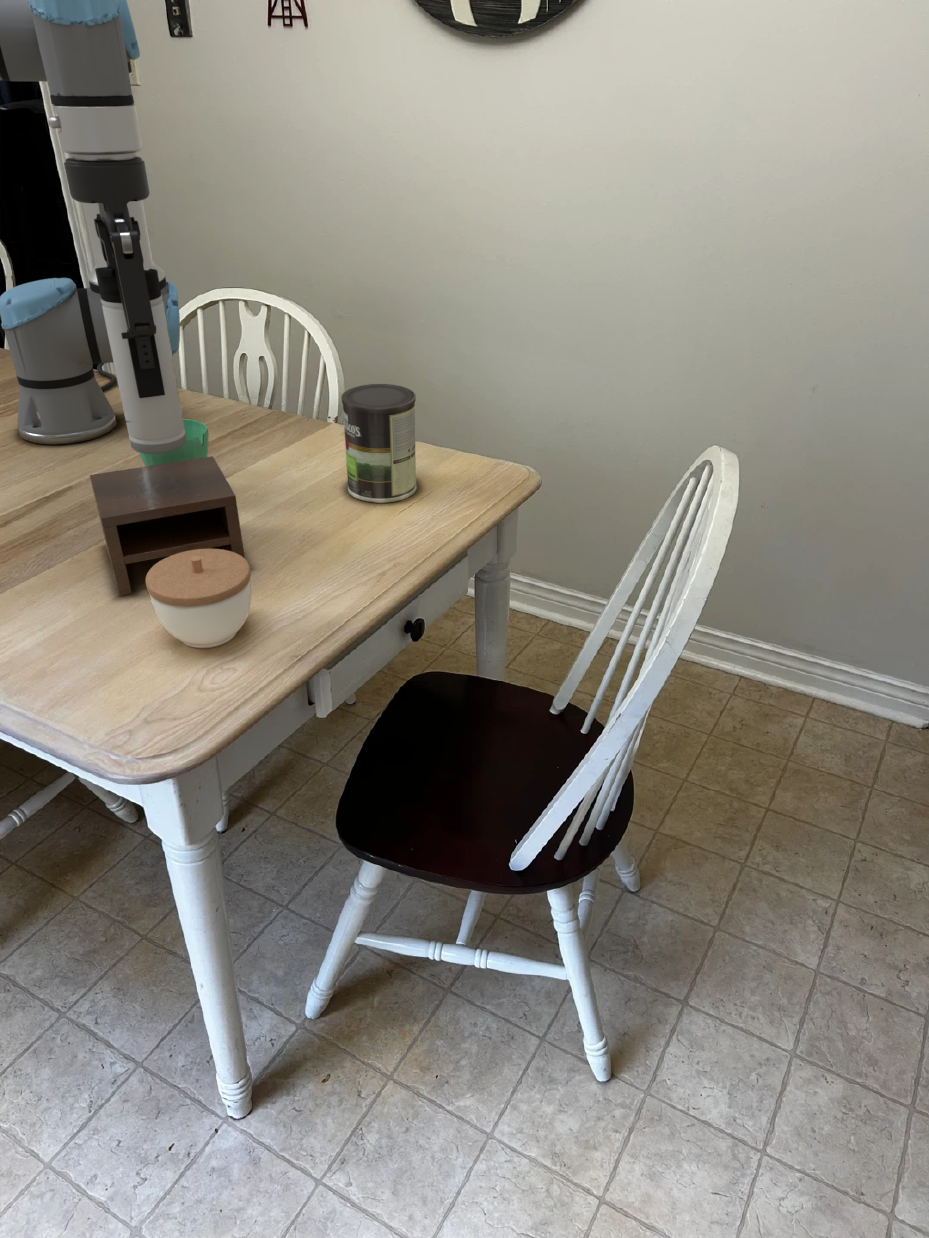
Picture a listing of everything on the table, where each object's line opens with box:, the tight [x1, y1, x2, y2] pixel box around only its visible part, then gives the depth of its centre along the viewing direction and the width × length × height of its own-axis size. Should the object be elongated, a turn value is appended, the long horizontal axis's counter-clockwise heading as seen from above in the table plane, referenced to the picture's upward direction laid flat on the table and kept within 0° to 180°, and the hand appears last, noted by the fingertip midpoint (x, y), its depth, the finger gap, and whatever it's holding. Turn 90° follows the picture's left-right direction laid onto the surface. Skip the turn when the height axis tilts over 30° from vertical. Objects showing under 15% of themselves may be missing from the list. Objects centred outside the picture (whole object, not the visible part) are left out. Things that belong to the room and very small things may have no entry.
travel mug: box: [95, 267, 186, 454], centre depth 96 cm, size 6×7×20 cm
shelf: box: [89, 455, 246, 597], centre depth 107 cm, size 13×15×10 cm
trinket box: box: [144, 548, 253, 649], centre depth 94 cm, size 11×11×9 cm
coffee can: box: [341, 383, 418, 504], centre depth 125 cm, size 10×10×14 cm
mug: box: [138, 418, 209, 467], centre depth 124 cm, size 15×10×10 cm
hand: (147, 386), depth 98 cm, fingers closed on travel mug, 6 cm apart
